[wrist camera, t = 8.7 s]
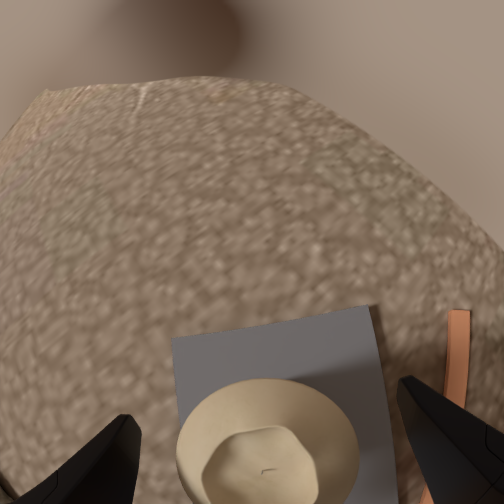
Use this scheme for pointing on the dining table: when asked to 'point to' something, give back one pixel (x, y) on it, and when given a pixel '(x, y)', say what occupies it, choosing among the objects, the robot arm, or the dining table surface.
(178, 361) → the mat
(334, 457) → the candle
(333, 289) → the dining table surface
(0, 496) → the long grey stone
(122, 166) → the dining table surface
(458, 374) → the orange curved strip
